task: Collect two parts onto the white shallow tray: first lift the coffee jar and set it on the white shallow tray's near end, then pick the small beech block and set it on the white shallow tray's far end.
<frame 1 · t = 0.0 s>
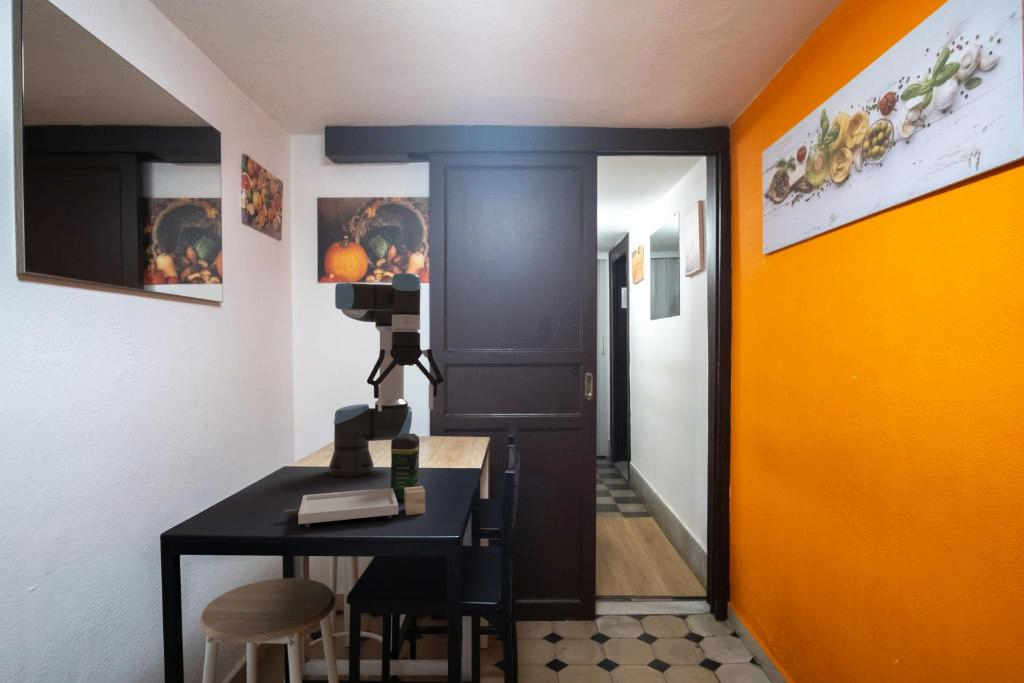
hand: (405, 409, 137), 28 cm above the table, fingers open, 13 cm apart
beech block: (414, 511, 139), on the table
white shallow tray: (349, 514, 135), on the table
coffee jar: (405, 496, 152), on the table
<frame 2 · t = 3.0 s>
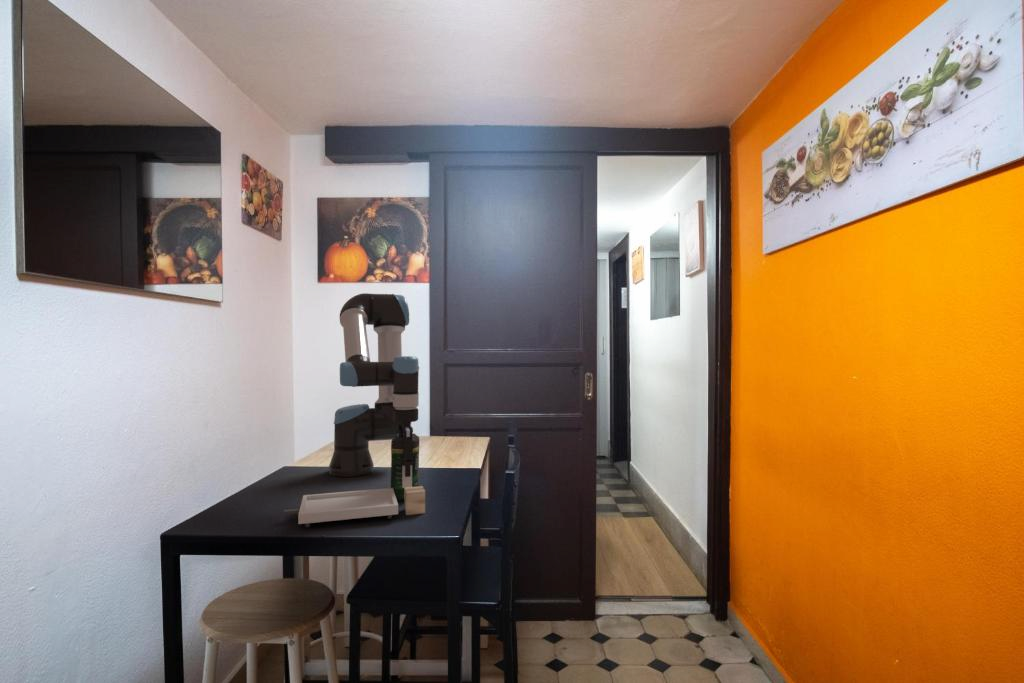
hand: (405, 482, 152), 4 cm above the table, fingers closed on coffee jar, 9 cm apart
coffee jar: (405, 496, 152), on the table, touching gripper
everything else where it was.
when the fingers open (9 cm above the table, at t = 9.1 s): coffee jar drops 1 cm, resting on white shallow tray.
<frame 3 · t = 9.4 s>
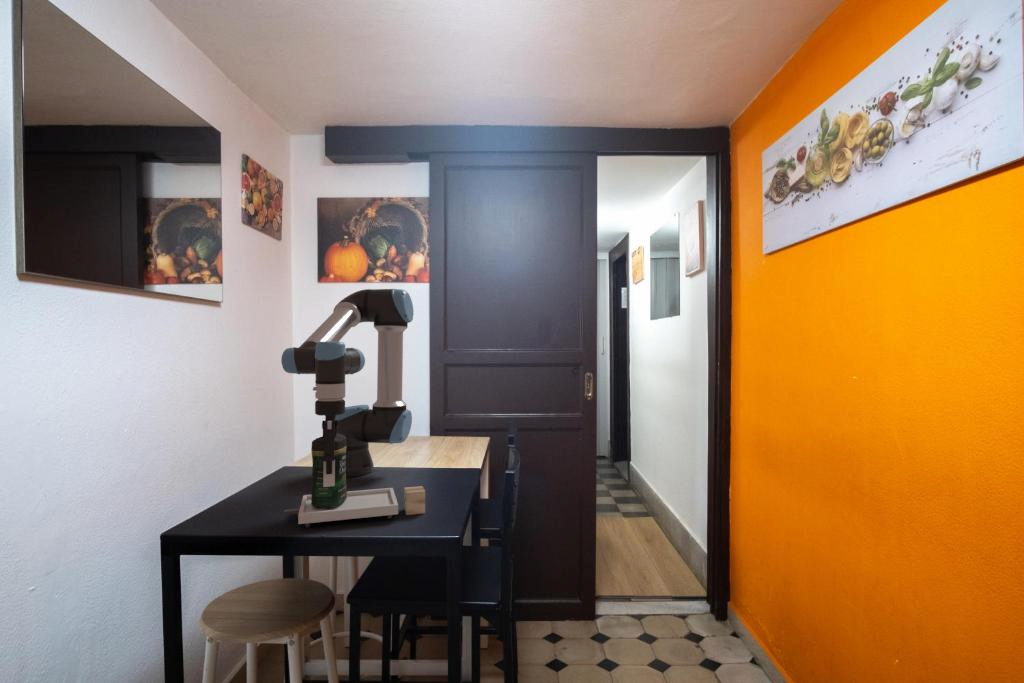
hand: (329, 479, 134), 10 cm above the table, fingers open, 13 cm apart
coffee jar: (330, 504, 135), point 3 cm above the table, touching white shallow tray
everything else where it was.
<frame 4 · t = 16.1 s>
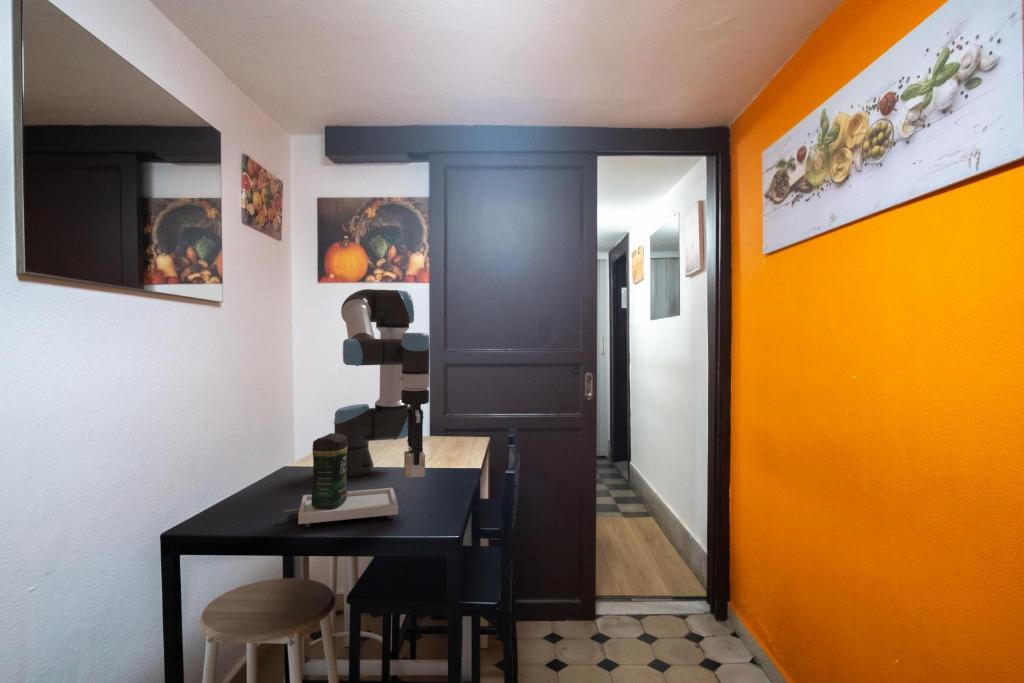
hand: (414, 473, 139), 10 cm above the table, fingers closed on beech block, 5 cm apart
beech block: (414, 474, 139), point 10 cm above the table, touching gripper
everything else where it was.
when the fingers open (4 cm above the table, at t = 19.3 s): beech block stays where it is, resting on white shallow tray.
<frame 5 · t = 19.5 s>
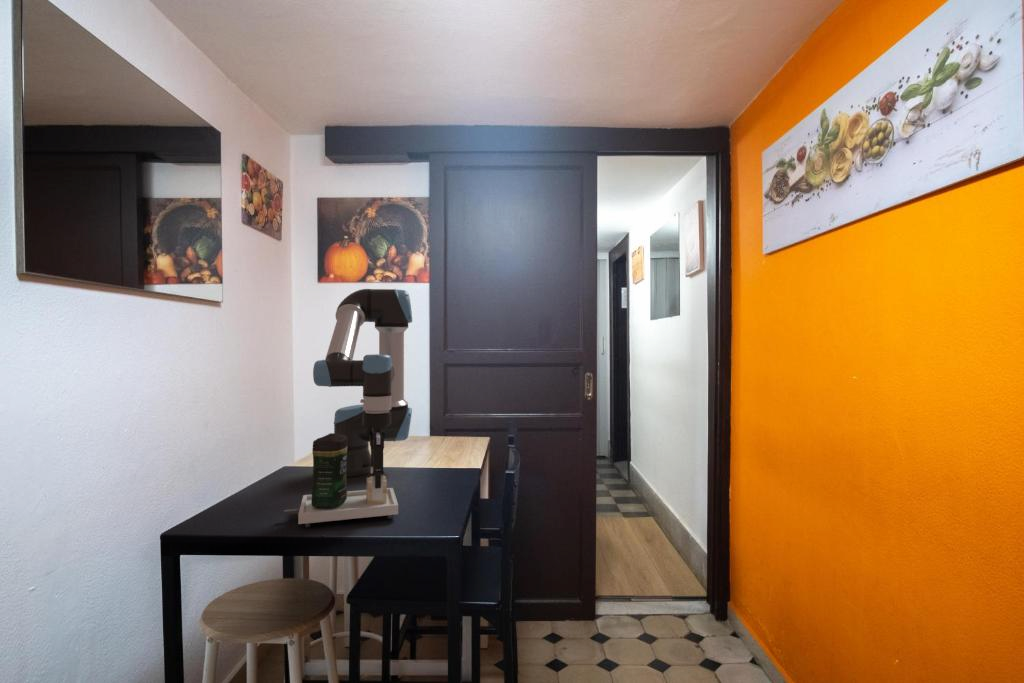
hand: (376, 494, 137), 5 cm above the table, fingers open, 8 cm apart
beech block: (376, 501, 137), point 3 cm above the table, touching white shallow tray
everything else where it was.
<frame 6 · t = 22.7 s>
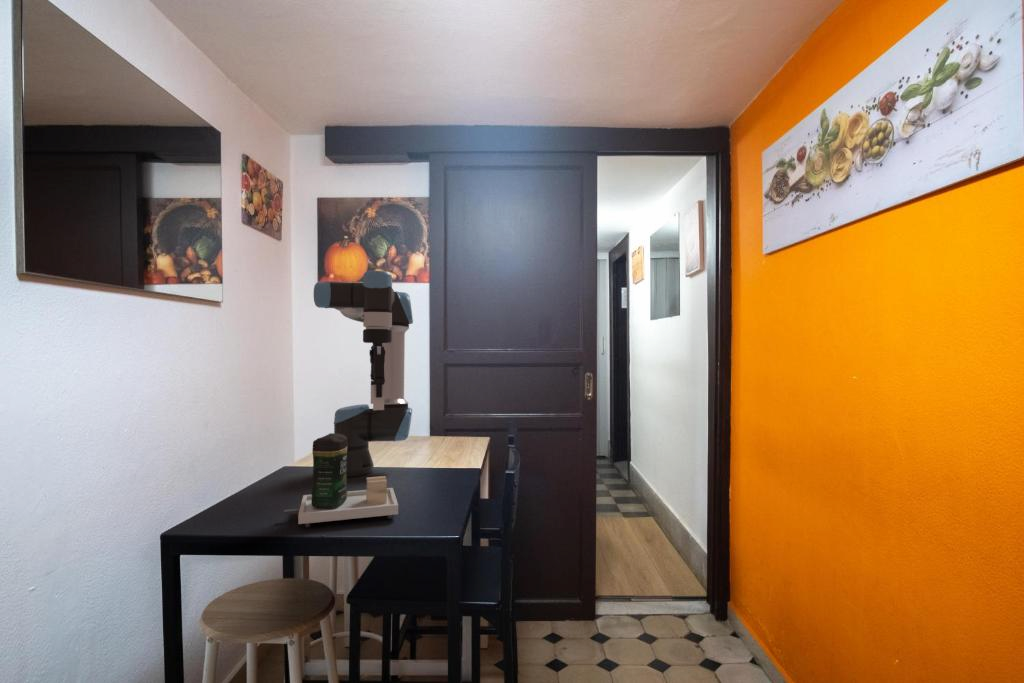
hand: (377, 406, 137), 29 cm above the table, fingers open, 13 cm apart
nothing on the table moved.
at the end: coffee jar inside the target area on the white shallow tray (1.2 cm from its centre), point 2.8 cm above the white shallow tray's base; coffee jar tilted 0°; beech block inside the target area on the white shallow tray (0.8 cm from its centre), point 3.0 cm above the white shallow tray's base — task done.
